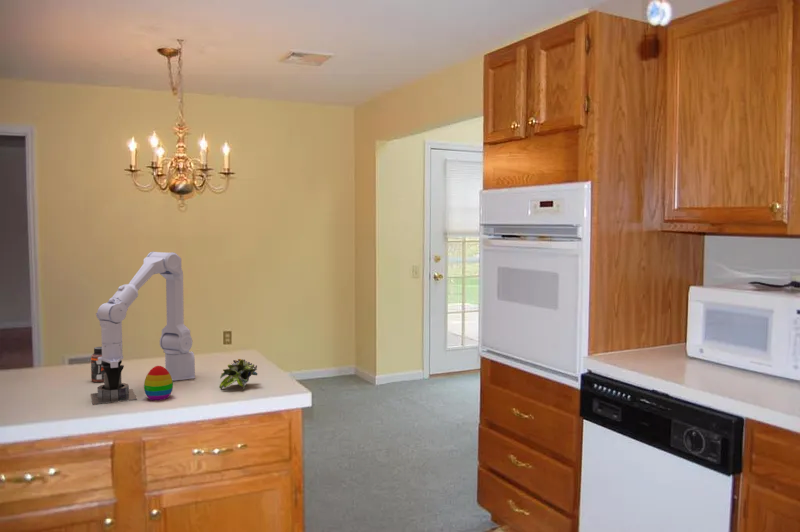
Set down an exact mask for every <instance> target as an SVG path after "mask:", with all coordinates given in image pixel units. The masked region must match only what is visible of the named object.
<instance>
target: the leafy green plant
mask: <svg viewBox="0 0 800 532" xmlns="http://www.w3.org/2000/svg"><path fill="white" fill-rule="evenodd" d="M257 368H258V365H255V364H253V363H252V362H250V361H248V360H247V361H246V359H242V358H237V360H236V359H235V360H234V359H233V362H231V364H230V363H228V364H227V368H223V369H222V371H223V372H221V375H220V376H219V379H222V378H223V377H225V378H224V379H222V381H221V382H220V384H219V386H218V387H219V389H220V390H221V389H222V390H223V388H227V387H229V386H230V385H232V384H234V383H235V382H237V384H238V385H239V386H240V387H243V388H242V391H244V390H245V387H246V385H247V383H248V382H249V379H250V377H251V376H258V375H259V374H258V373H257V370H258V369H257Z"/></svg>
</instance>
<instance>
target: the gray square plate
mask: <svg viewBox="0 0 800 532" xmlns="http://www.w3.org/2000/svg"><path fill="white" fill-rule="evenodd" d="M129 388H130V387H129V384H128V383H127V382H126V383H125V382H122V388H118V389H104V384H101V385H99V386H98V387H97V391H96V392H94V393H90V399H91V402H92V406H94V404H96V405H102V404H101V403H105V404H111V402H113V403H119V402H118V401H121V402H128V401H127V400H129V401H136V400H138V399H137V396H136V394H135V391H134V390H133V389H132V388H130V389H129Z"/></svg>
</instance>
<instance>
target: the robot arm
mask: <svg viewBox="0 0 800 532" xmlns="http://www.w3.org/2000/svg"><path fill="white" fill-rule="evenodd" d="M156 274H158V275H161V276H162V277H163V278H164V279H165V288H166V290H165V292H166V293H165V294H166V295H165V296H166V298H165V299H166V301H165V302H166V325H165V326H164V327H163V328H162V329H161V334H160V338H159V346H160V348H161V349H162V350H163V353H165V354H164V358H165V359H164V362H165V363H164V365H165V366H164V368H165V369H166V370H167V371H168V372H169V373H170V375H171V378H172V382H175V381H184V380H192V379H196V373H195V372H196V366H195V365H196V364H195V363H196V362H195V354H194V352H193V351H190V350H191V349H192V346H193V337H192V336H191V330H190V329H189V327H187V326H186V325H185V324H184V323H185V320H184V319H185V317H184V315H185V314H184V311H185V310H184V309H185V308H184V271H183V269H182V257H181V256H179V255H178V254H177V253H176V252H164V251H163V252H162V251H151V252H149V253H148V254H147V255H146V257H144V258H143V263H142V265H141V267H140V268H139V269H138V270H137V272H136V273H135V274H134V276H133V277H132V279H130V281H129V283H125V284H122V285H119V287H118V288H117V290H116V291H115V293H114V294H113V295H112V297H110V298H109V299H108V301H107V302H105V303H102V304H100V306H99V307H98V309H97V312H96V313H95V315H96V318H97V320H98V321H99V326H100V332H101V333H100V334H101V335H100V336H101V347H102V357H98V361H100V360H102V361H105V362H102V365H103V369H104V370H105V372H106V374H107V377H108V383H109V387H110V389H114V388H118V385H119V379H120V374H121V375H122V372H123V369H124V368H125V365H124V364H122V362H123V360H124V355H123V326H122V325H123V322H122V321H124V320H125V319H126V317H127V311H128V309H129V307H130V306H131V305H132V304H133V303H134V302H135V300H137V298H138V297H139V290H140V289H141V288H142V287H143V286H144V285H145V283H146V282H148V280H150V278H151V277H153V276H154V275H156Z"/></svg>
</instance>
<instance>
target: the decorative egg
mask: <svg viewBox="0 0 800 532" xmlns="http://www.w3.org/2000/svg"><path fill="white" fill-rule="evenodd" d="M144 379H145V380H144V382H143V383H144V385H143V388H144V393H145V396H146V397H147V398H148V400H150V401H155V400H157V401H164V400H166V399H168V398H169V397H170V396H171V394H172V392H173V388H174V387H173V386H174V381H172V378H171V375H170V373H169V372H168V371H167V370H166V369H165V366H161V365H156V366H154V367H152V368H151V369H150V370H149V371H148V372H147V375H146V376H145V378H144Z"/></svg>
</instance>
